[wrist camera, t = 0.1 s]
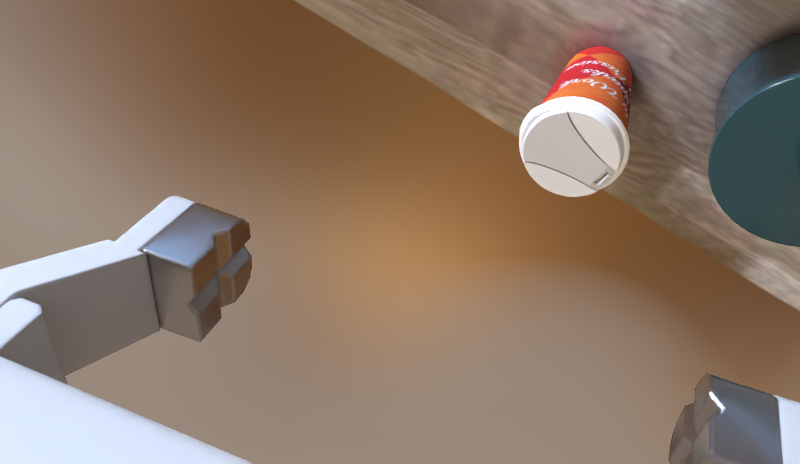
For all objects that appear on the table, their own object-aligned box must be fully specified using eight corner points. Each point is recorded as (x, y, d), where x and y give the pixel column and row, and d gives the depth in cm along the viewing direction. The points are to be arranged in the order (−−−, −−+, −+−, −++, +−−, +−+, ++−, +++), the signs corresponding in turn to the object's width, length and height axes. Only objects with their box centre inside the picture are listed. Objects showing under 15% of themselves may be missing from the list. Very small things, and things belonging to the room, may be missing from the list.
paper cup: (666, 70, 55) (652, 151, 45) (604, 135, 60) (578, 221, 50) (589, 13, 55) (557, 81, 44) (533, 83, 60) (493, 159, 49)
